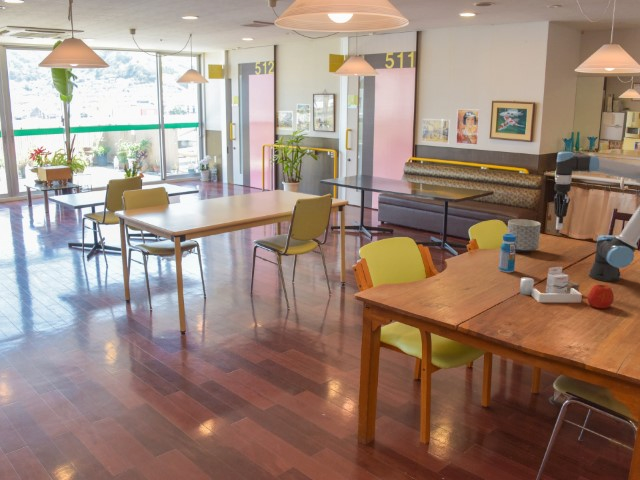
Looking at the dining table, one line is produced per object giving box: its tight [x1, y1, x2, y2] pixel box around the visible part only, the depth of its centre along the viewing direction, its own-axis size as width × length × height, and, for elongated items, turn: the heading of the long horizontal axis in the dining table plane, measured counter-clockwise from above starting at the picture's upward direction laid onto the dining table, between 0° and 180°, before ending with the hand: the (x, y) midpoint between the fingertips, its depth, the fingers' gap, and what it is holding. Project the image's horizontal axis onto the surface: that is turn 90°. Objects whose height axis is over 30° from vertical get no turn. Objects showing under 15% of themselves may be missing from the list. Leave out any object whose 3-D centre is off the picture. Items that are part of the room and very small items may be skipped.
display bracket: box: [531, 287, 583, 303], centre depth 288 cm, size 20×9×4 cm, turn 92°
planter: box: [506, 218, 542, 254], centre depth 374 cm, size 19×19×18 cm
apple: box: [587, 283, 615, 309], centre depth 278 cm, size 11×11×11 cm
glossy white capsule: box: [519, 276, 535, 296], centre depth 296 cm, size 6×6×7 cm
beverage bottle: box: [498, 233, 517, 273], centre depth 331 cm, size 8×8×20 cm
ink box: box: [545, 266, 569, 293], centre depth 289 cm, size 8×5×15 cm, turn 112°
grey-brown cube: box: [566, 281, 580, 293], centre depth 297 cm, size 5×5×5 cm
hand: (558, 229), depth 308 cm, fingers closed
